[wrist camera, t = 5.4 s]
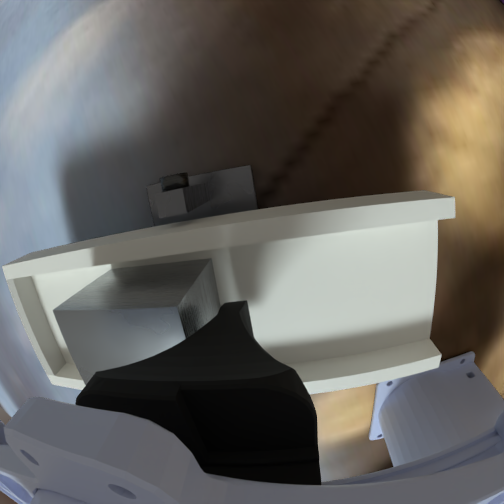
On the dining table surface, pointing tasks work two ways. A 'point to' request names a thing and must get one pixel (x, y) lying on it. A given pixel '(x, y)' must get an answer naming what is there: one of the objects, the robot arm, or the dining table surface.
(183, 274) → the block
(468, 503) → the robot arm
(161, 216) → the beam stand
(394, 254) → the balance beam
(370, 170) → the dining table surface
